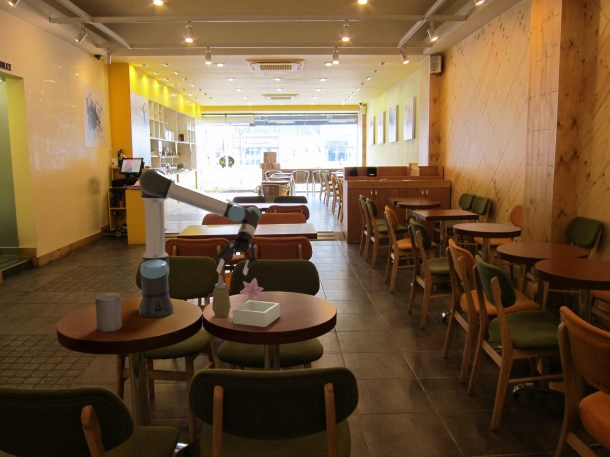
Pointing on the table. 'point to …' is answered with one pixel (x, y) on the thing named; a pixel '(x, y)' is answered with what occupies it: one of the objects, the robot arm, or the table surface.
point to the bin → (256, 313)
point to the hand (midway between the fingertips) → (231, 272)
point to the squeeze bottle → (221, 299)
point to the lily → (252, 290)
